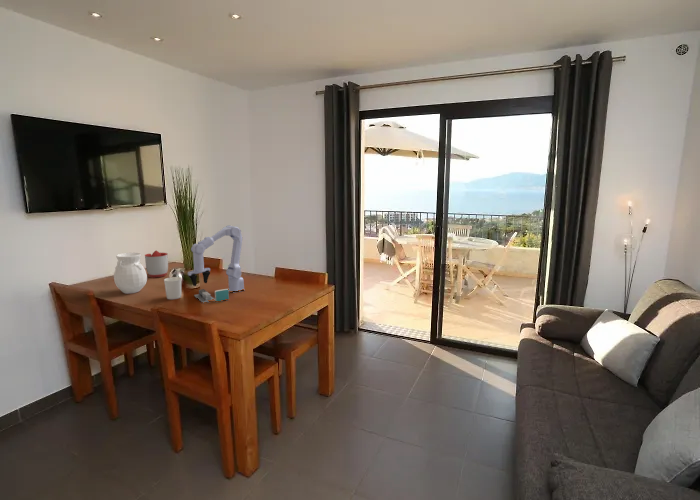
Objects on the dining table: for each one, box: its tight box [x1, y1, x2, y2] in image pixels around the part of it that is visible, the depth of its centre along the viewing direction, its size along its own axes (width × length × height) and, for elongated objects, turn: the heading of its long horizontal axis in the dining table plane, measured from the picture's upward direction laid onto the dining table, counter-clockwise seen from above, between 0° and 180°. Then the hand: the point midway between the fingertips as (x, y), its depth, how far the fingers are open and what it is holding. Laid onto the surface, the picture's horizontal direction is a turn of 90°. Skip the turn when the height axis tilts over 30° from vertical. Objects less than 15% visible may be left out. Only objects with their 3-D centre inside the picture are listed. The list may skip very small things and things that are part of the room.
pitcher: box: [113, 252, 148, 295], centre depth 237 cm, size 19×18×25 cm
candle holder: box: [163, 276, 182, 300], centre depth 228 cm, size 10×10×12 cm
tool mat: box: [193, 293, 215, 304], centre depth 228 cm, size 8×18×1 cm, turn 39°
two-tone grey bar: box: [198, 288, 212, 301], centre depth 228 cm, size 3×14×4 cm, turn 38°
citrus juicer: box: [144, 250, 169, 279], centre depth 278 cm, size 16×17×20 cm
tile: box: [214, 288, 230, 302], centre depth 223 cm, size 8×2×7 cm, turn 129°
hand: (200, 284), depth 226 cm, fingers open, 7 cm apart
